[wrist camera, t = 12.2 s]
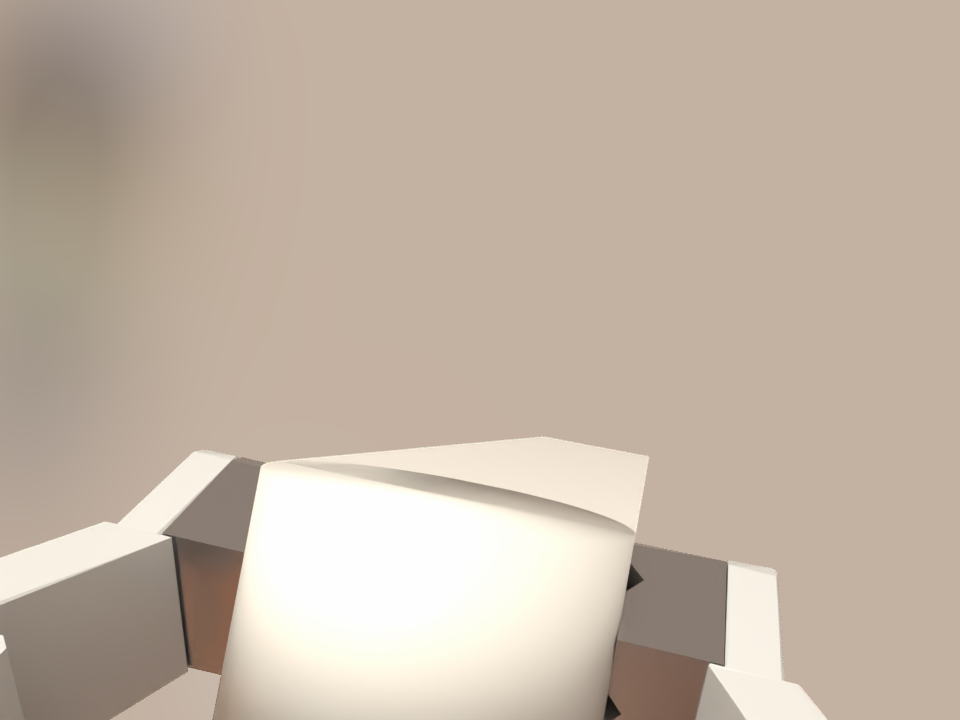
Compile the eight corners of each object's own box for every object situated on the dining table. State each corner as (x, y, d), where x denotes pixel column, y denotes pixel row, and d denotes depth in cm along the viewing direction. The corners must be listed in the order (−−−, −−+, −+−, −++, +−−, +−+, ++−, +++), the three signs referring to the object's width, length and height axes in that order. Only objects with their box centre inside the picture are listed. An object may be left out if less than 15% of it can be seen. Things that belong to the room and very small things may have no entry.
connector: (638, 519, 32) (649, 454, 32) (572, 898, 6) (630, 563, 6) (540, 499, 33) (551, 435, 33) (126, 767, 7) (185, 470, 7)
